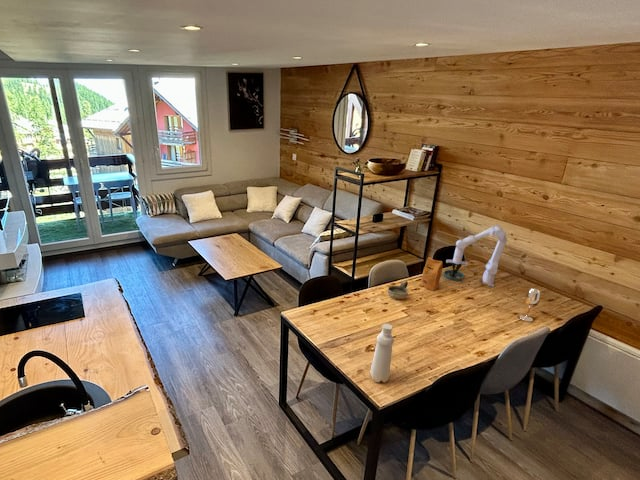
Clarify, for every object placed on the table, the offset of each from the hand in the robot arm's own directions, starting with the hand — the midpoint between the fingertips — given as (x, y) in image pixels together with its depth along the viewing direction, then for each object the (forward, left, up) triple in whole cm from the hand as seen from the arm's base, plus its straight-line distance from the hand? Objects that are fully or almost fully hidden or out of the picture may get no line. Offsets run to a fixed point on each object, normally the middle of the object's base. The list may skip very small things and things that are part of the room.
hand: (454, 272), depth 293 cm
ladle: (-2, 0, -4) cm, 5 cm away
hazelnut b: (-4, -3, -4) cm, 7 cm away
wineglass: (+44, +39, -6) cm, 59 cm away
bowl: (+42, -39, -6) cm, 58 cm away
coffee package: (+19, -18, -6) cm, 27 cm away
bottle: (+131, -46, -6) cm, 139 cm away
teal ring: (-1, 0, -6) cm, 6 cm away
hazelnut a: (+1, +2, -4) cm, 5 cm away
